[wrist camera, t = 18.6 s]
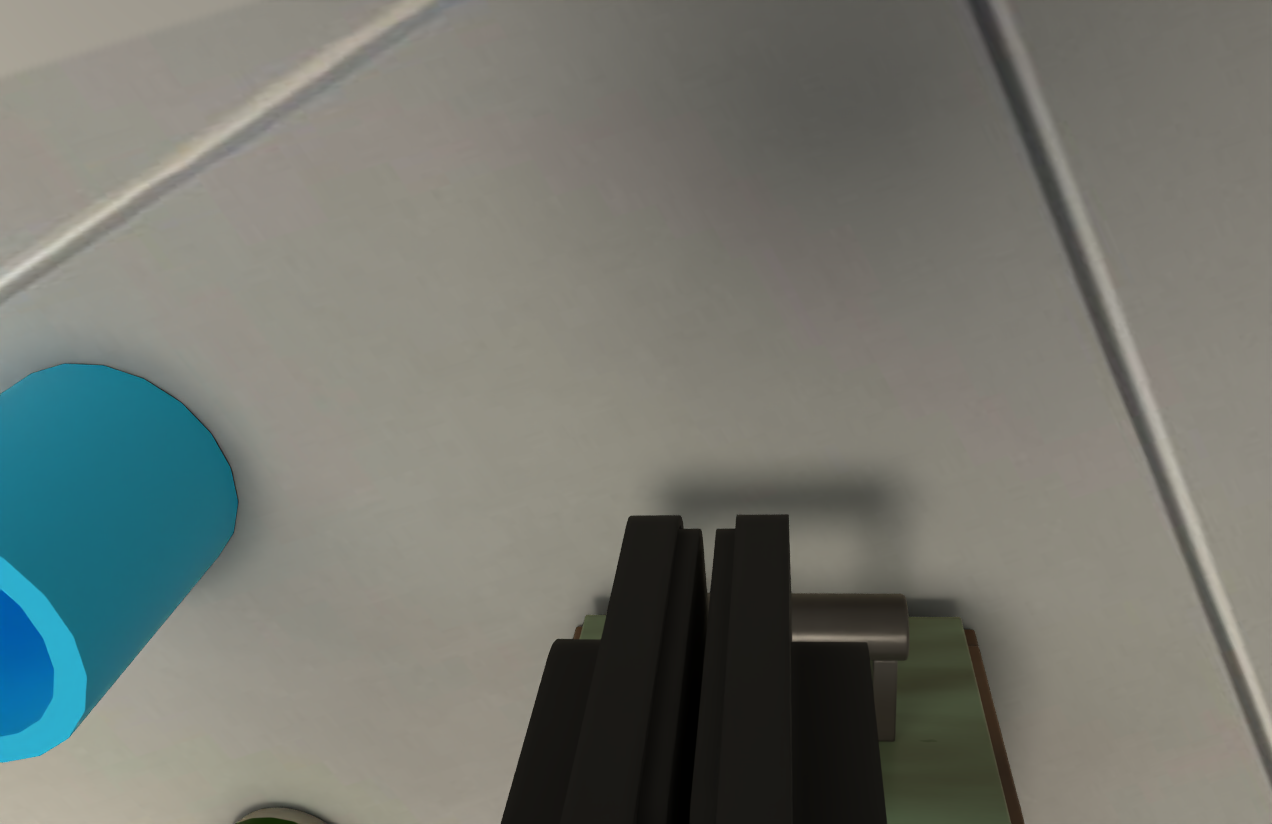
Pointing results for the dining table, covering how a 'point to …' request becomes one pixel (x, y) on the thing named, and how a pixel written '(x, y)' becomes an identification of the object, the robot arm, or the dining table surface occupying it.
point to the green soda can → (279, 817)
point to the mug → (95, 538)
